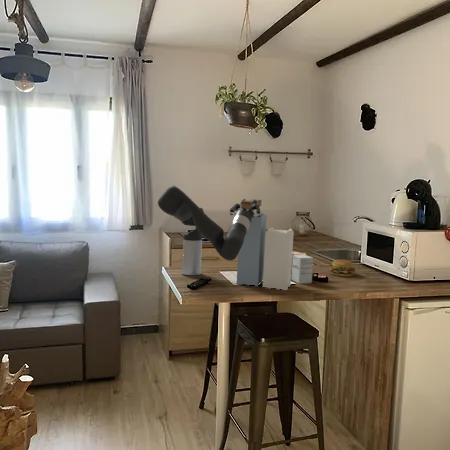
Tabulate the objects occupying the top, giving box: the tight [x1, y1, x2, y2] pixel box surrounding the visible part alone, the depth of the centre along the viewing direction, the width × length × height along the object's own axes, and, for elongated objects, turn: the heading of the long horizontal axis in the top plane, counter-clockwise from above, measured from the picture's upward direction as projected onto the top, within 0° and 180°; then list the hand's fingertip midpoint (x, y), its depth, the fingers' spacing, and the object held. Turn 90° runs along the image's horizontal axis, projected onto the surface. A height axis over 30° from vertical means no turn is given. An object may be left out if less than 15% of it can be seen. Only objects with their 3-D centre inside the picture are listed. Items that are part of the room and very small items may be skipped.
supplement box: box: [291, 254, 314, 285], centre depth 231 cm, size 7×7×13 cm
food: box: [329, 258, 358, 278], centre depth 253 cm, size 14×14×8 cm
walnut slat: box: [240, 198, 263, 209], centre depth 215 cm, size 24×4×3 cm, turn 164°
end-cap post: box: [262, 226, 295, 291], centre depth 219 cm, size 11×11×26 cm
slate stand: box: [236, 211, 268, 287], centre depth 224 cm, size 13×10×33 cm
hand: (249, 201), depth 211 cm, fingers closed on walnut slat, 4 cm apart
